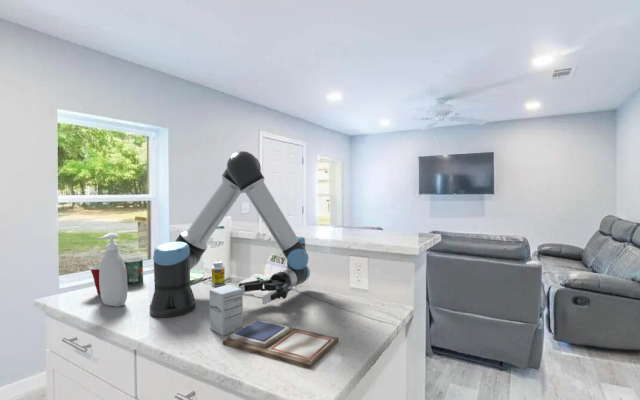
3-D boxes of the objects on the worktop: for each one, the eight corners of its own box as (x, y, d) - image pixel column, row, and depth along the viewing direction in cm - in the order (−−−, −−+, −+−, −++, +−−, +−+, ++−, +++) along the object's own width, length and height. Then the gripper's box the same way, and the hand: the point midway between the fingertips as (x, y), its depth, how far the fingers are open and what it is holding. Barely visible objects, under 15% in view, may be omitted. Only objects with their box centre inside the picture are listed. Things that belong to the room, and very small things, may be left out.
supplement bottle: (213, 287, 148) (213, 264, 148) (210, 284, 153) (209, 261, 153) (226, 285, 151) (226, 262, 151) (222, 282, 156) (222, 260, 156)
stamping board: (222, 344, 95) (222, 335, 95) (258, 323, 109) (258, 316, 109) (310, 368, 82) (310, 359, 82) (338, 341, 96) (338, 333, 96)
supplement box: (209, 329, 105) (208, 289, 104) (230, 322, 110) (229, 283, 110) (222, 336, 100) (221, 294, 99) (243, 328, 105) (243, 288, 105)
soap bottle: (89, 305, 127) (86, 233, 126) (111, 298, 135) (108, 230, 133) (112, 311, 121) (110, 235, 120) (134, 304, 128) (132, 232, 127)
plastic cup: (114, 288, 149) (113, 260, 148) (125, 292, 143) (125, 263, 142) (85, 294, 140) (84, 265, 140) (97, 299, 134) (95, 269, 133)
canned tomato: (120, 284, 154) (119, 260, 154) (137, 280, 161) (136, 257, 160) (129, 287, 150) (128, 262, 149) (146, 283, 156) (146, 259, 156)
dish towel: (218, 276, 168) (218, 271, 168) (180, 289, 147) (180, 283, 147) (192, 272, 176) (192, 267, 176) (152, 284, 155) (152, 278, 155)
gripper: (311, 295, 126) (278, 314, 107) (257, 286, 138) (218, 302, 119) (311, 275, 126) (277, 291, 107) (257, 268, 137) (218, 281, 118)
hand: (246, 297), depth 113 cm, fingers open, 13 cm apart
